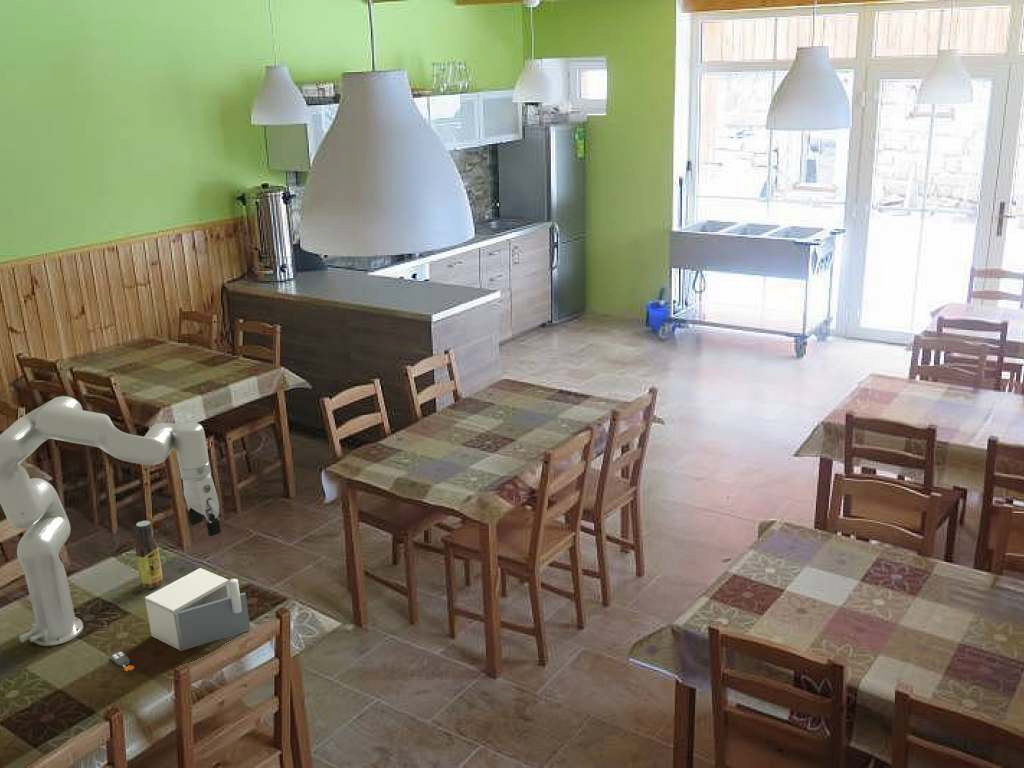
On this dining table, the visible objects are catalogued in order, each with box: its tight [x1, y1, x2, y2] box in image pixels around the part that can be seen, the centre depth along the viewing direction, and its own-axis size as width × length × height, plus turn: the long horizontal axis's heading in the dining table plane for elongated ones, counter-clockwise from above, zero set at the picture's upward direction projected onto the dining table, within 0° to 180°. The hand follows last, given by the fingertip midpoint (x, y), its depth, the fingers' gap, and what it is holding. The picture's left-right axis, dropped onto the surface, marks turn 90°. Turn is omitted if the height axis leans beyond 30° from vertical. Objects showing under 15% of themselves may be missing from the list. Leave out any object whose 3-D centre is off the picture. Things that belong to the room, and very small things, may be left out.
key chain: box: [109, 651, 135, 672], centre depth 247 cm, size 13×4×2 cm, turn 45°
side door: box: [174, 578, 251, 652], centre depth 252 cm, size 19×4×16 cm, turn 120°
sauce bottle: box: [135, 520, 164, 590], centre depth 282 cm, size 6×6×20 cm
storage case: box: [144, 567, 230, 651], centre depth 261 cm, size 18×12×12 cm, turn 145°
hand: (205, 528), depth 256 cm, fingers open, 9 cm apart
